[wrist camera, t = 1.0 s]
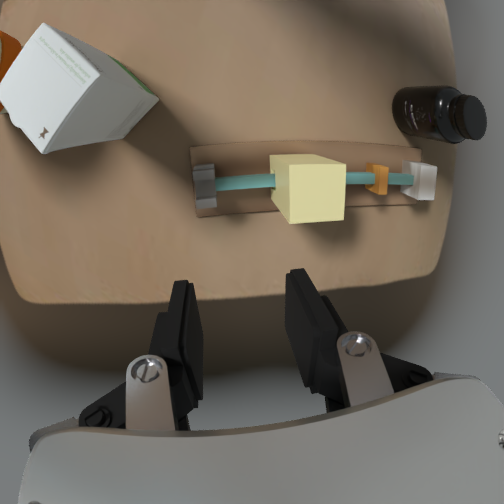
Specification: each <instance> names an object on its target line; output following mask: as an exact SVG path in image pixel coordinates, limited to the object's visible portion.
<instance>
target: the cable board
mask: <svg viewBox="0 0 504 504" xmlns="http://www.w3.org/2000/svg"><path fill="white" fill-rule="evenodd" d="M285 154H315V155H318V156H321V157H325V158H328V159H331V160H334V161H337V162H341V163H344V164H346V186H345V206H364V205H399V204H417V201H418V200H434V195H435V186H436V176H437V167H436V166H433V165H429V164H426V163H422V162H421V154H422V149H419V148H411V147H403V146H394V145H384V144H372V143H358V142H339V141H262V142H242V143H228V144H216V145H205V146H196V147H190V157H191V168H192V178H193V188H194V197H195V206H196V215H197V217H203V216H213V215H224V214H235V213H247V212H259V211H272V210H279V209H278V208H277V206H276V205H275V204H274V202H273V201H272V200H271V187H276V183H275V173H272V174H270V155H285Z"/></svg>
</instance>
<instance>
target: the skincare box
mask: <svg viewBox="0 0 504 504" xmlns="http://www.w3.org/2000/svg"><path fill="white" fill-rule="evenodd" d="M158 101H159V98H158V97H157V96H156V95H154V94H153V93H152V92H151V91H150V90H149V89H148V88H147V87H146V86H145V85H144V84H143V83H142V82H141V81H140V80H139V79H137V78H136V77H135V76H134V75H133V74H132V73H131V72H130V71H129V70H127V69H126V68H125V67H124V66H123V65H122V64H121V63H120V62H119V61H118V60H116V59H114V58H113V57H111V56H109V55H107V54H105V53H104V52H102V51H100V50H98V49H96V48H94V47H93V46H91V45H89V44H87V43H85V42H83V41H81V40H79V39H77V38H75V37H73V36H71V35H69V34H67V33H65V32H63V31H60V30H58V29H56V28H54V27H52V26H49V25H47V24H46V23H42V24H41V25H40V27H39V28H38V29H37V30H36V31H35V33H34V34H33V35H32V37H31V38H30V39H29V41H28V42H27V43H26V45H25V46H24V48H23V49H22V50H21V52H20V53H19V55H18V56H17V58H16V59H15V61H14V62H13V64H12V65H11V67H10V68H9V70H8V71H7V73H6V75H5V76H4V78H3V79H2V81H1V83H0V102H1V103H2V105H3V106H4V107H5V109H6V110H7V112H8V113H9V114H10V119H11V121H12V123H13V124H14V125H15V126H16V127H19V128H21V129H22V131H23V132H24V133H25V134H26V136H27V137H28V138H29V139H30V140H31V142H32V143H33V144H34V145H35V146H36V148H37V149H38V150H39V151H40V152H41V153H42V154H47V153H49V152H52V151H56V150H60V149H65V148H70V147H75V146H80V145H86V144H91V143H98V142H104V141H111V140H119V139H123V138H124V137H125V136H126V135H127V134H128V132H129V131H130V130H131V129H132V128H133V127H134V126H135V125H136V124H137V123H138V122H139V121H140V119H141V118H142V117H143V116H144V115H145V114H146V113H147V112H148V111H149V110H150V109H151V108H152V107H153V106H154V105H155V104H156V103H157V102H158Z"/></svg>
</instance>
